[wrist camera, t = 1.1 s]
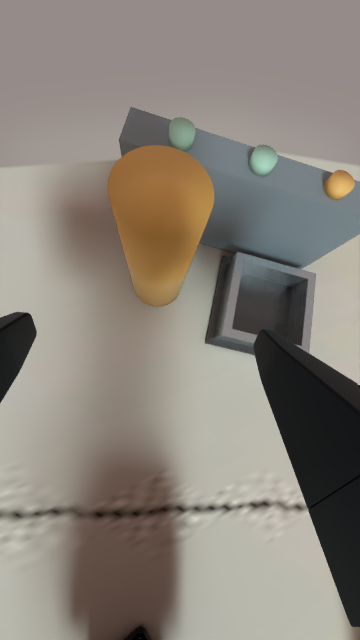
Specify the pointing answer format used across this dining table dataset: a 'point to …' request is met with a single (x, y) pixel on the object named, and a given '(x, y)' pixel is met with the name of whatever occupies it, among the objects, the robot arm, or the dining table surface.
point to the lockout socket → (260, 303)
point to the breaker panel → (259, 193)
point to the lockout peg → (159, 217)
